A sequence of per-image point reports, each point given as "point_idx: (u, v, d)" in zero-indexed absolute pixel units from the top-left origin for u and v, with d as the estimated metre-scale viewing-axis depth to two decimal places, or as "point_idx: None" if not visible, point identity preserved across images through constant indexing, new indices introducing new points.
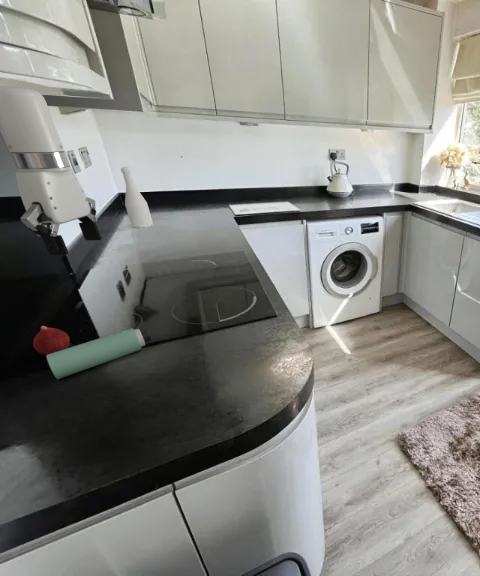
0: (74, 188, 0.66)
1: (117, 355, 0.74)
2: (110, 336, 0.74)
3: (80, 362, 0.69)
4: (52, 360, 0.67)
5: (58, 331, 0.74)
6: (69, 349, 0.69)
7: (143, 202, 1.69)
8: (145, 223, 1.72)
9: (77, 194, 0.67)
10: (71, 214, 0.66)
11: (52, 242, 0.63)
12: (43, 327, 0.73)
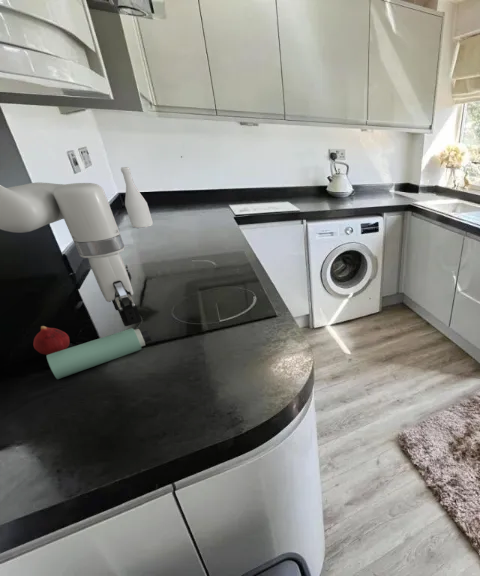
0: None
1: (117, 355, 0.74)
2: (110, 336, 0.74)
3: (80, 362, 0.69)
4: (52, 360, 0.67)
5: (58, 331, 0.74)
6: (69, 349, 0.69)
7: (143, 202, 1.69)
8: (145, 223, 1.72)
9: None
10: None
11: (132, 313, 0.70)
12: (43, 327, 0.73)
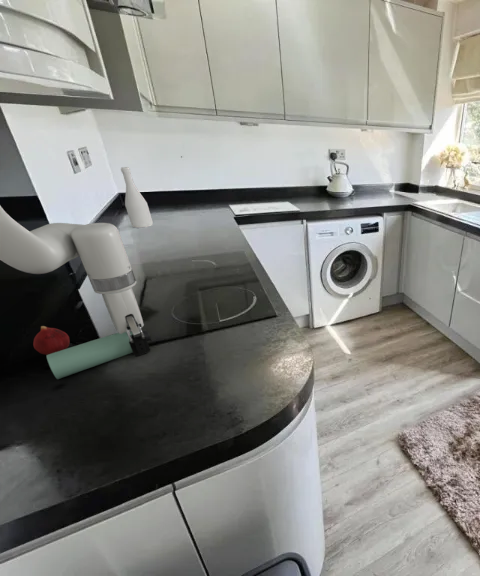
0: None
1: (117, 355, 0.74)
2: (110, 336, 0.74)
3: (80, 362, 0.69)
4: (52, 360, 0.67)
5: (58, 331, 0.74)
6: (69, 349, 0.69)
7: (143, 202, 1.69)
8: (145, 223, 1.72)
9: None
10: None
11: (142, 344, 0.75)
12: (43, 327, 0.73)
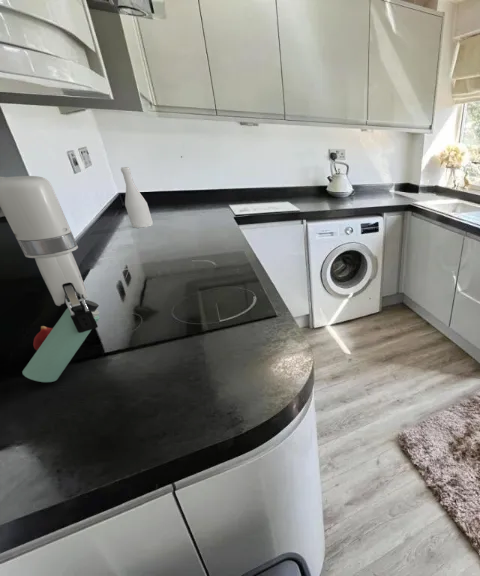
0: None
1: (80, 337, 0.68)
2: (55, 326, 0.66)
3: (52, 362, 0.66)
4: (27, 374, 0.64)
5: None
6: (33, 357, 0.65)
7: (143, 202, 1.69)
8: (145, 223, 1.72)
9: None
10: None
11: (86, 319, 0.66)
12: (43, 327, 0.73)
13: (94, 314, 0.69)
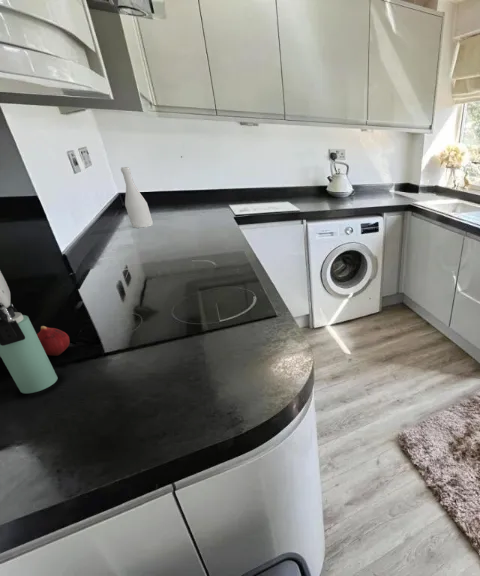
0: None
1: (26, 345, 0.62)
2: None
3: (28, 374, 0.64)
4: (22, 390, 0.65)
5: (58, 331, 0.74)
6: (12, 376, 0.64)
7: (143, 202, 1.69)
8: (145, 223, 1.72)
9: (1, 273, 0.60)
10: (9, 295, 0.60)
11: (10, 330, 0.59)
12: (43, 327, 0.73)
13: (14, 320, 0.61)
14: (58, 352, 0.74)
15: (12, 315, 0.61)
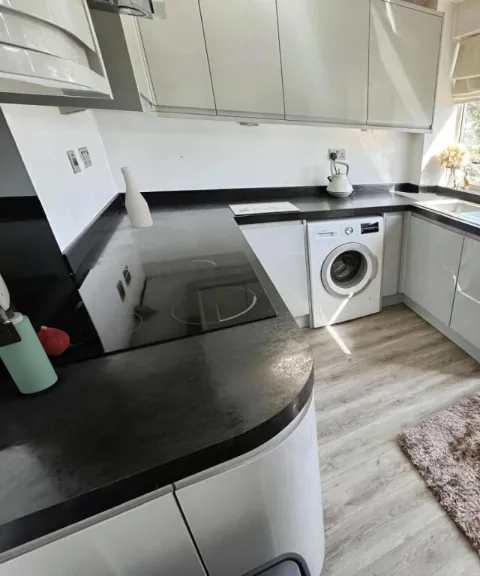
0: None
1: (26, 345, 0.62)
2: None
3: (28, 374, 0.64)
4: (22, 391, 0.65)
5: (58, 331, 0.74)
6: (12, 376, 0.64)
7: (143, 202, 1.69)
8: (145, 223, 1.72)
9: (0, 275, 0.60)
10: (8, 298, 0.60)
11: (6, 331, 0.57)
12: (43, 327, 0.73)
13: (14, 320, 0.61)
14: (58, 352, 0.74)
15: (12, 315, 0.61)
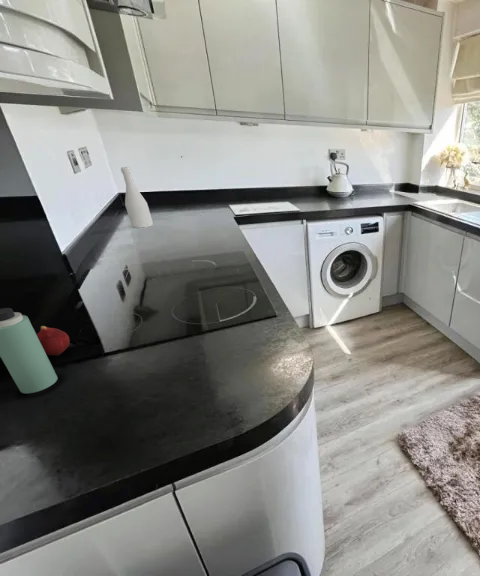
0: None
1: (26, 345, 0.62)
2: None
3: (28, 374, 0.64)
4: (22, 391, 0.65)
5: (58, 331, 0.74)
6: (12, 376, 0.64)
7: (143, 202, 1.69)
8: (145, 223, 1.72)
9: None
10: None
11: None
12: (43, 327, 0.73)
13: (14, 320, 0.61)
14: (58, 352, 0.74)
15: (12, 315, 0.61)
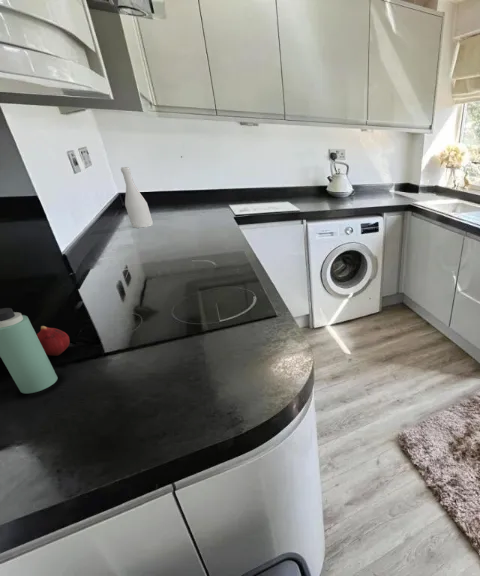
0: None
1: (26, 345, 0.62)
2: None
3: (28, 374, 0.64)
4: (22, 391, 0.65)
5: (58, 331, 0.74)
6: (12, 376, 0.64)
7: (143, 202, 1.69)
8: (145, 223, 1.72)
9: None
10: None
11: None
12: (43, 327, 0.73)
13: (14, 320, 0.61)
14: (58, 352, 0.74)
15: (12, 315, 0.61)
